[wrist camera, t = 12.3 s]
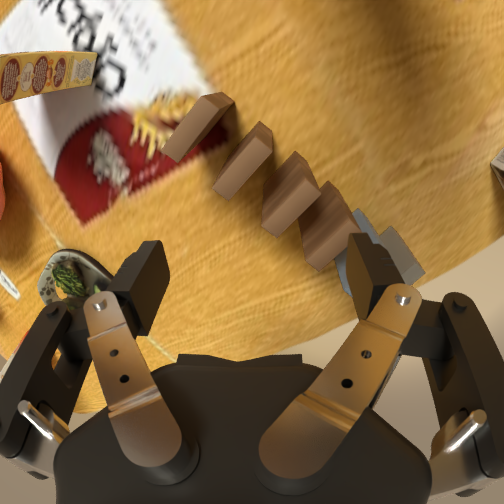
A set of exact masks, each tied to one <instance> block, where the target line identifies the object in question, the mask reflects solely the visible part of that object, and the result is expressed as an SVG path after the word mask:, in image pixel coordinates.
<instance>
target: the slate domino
mask: <svg viewBox="0 0 504 504" xmlns="http://www.w3.org/2000/svg"><path fill="white" fill-rule="evenodd" d="M352 215H353V216H354V218H355V220H356V222H357V223H358V225H359V227H360V229H361V231H362V232H367V233H368V235H369V237H370V239H371V240H372V242H373V244H380V245H382V246H383V247H384V248H385V249H386V247H385V246H384V244H383V242H382V241H381V239H380V237H379V236H378V234H377V233H376V231H375V229H374V228H373V226H372V224H371V223H370V221H369V220H368V218H367V217H366V216H365V215H364V214H363V213H362V212H361V211H360V210H359V208H357V209H356V210H355V211H354V212H353V213H352ZM347 247H348V246H347ZM347 247H346V248H345V249H344V250H343V251H342V252H340V253H339V254H338V255H337V256H336V257H335V258H334V260H335V263H336V267H337V270H338V273H339V276H340V280H341V283H342V286H343V290H344V291H345V292H346V293H348V294H349V295H350V296H351V297H352V294H351V291H350V288H349V284H348V281H347V278H346V257H347ZM391 259H392V258H391Z"/></svg>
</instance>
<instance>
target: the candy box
mask: <svg viewBox="0 0 504 504" xmlns="http://www.w3.org/2000/svg"><path fill="white" fill-rule="evenodd" d="M96 58H97V53H93V52H74V51H37V52H20V53H10V54H1V55H0V104H3V103H7V102H10V101H14V100H18V99H22V98H26V97H30V96H34V95H38V94H43V93H47V92H52V91H57V90H63V89H68V88H74V87H81V86H88V85H91V83H92V78H93V73H94V67H95V62H96Z"/></svg>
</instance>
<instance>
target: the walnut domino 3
mask: <svg viewBox="0 0 504 504" xmlns="http://www.w3.org/2000/svg"><path fill="white" fill-rule="evenodd" d="M320 195H321V191H320V189H319V187H318V185H317V182H316V180H315V178H314V176H313V173H312V171H311V169H310V167H309V165H308V163H307V161H306V160H305V159H304V158H303V157H302V156H301V155H300V154H298V153H297V152H296V151H295V152H294V153H293V154H292V155H291V156H290V157H289V158H288V159H287V160H286V161H285V162H284V163H283V164H282V165H281V167H280V168H279V169H278V170H277V171H276V172H275V173H274V174H273V175H272V176H271V177H270V178H269V179H268V181H267V182H266V183H265V184H264V188H263V206H262V224H261V226H262V227H263V228H264V229H266V230H267V231H268V232H269V233H271V234H272V235H273V236H275V237H276V238H278V237H279V236H280V235H281V234H282V233H283V232H284V231H285V230H286V229H287V228H288V227H289V226H290V225H291V224H292V223H293V222H294V221H295V220H296V219H297V218H298V217H299V216H300V215H301V214H302V213H303V212H304V211H305V210H306V209H307V208H308V207H309V206H310V205H311V204H312V203H313V202H314V201H315V200H316V199H317V198H318V197H319V196H320Z"/></svg>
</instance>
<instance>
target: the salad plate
mask: <svg viewBox="0 0 504 504" xmlns="http://www.w3.org/2000/svg"><path fill="white" fill-rule="evenodd" d="M113 278H114V276H113V275H112V274H110V273H109V272H108V271H107V270H106V269H105V268H104V267H103V266H102V265H101V264H100V263H99V262H98V261H96V260H95V259H94V258H92V257H91V256H89V255H87V254H85V253H83V252H81V251H78V250H74V249H62V250H59V251H57V252H56V253H54V254H53V255H52V256H51V258H50V260H49V261H48V263H47V265H46V267H45V268H44V270H43V272H42V273H41V275H40V278H39V281H38V285H37V286H38V291H39V294H40V296H41V298H42V300H43V302H44V303H45V305H46V306H47V305H48V304H50V303H52V302H55V301H63V302H65V303H66V305H67V307H68V309H69V310H73V309H78V308H83V307H84V303H85V302H86V300H87V299H88V298H89V297H91V296H92V295H94V294H96V293H98V292H102V291H105V290H106V289H107V287H108V286H109V284H110V282H111V281H112V279H113ZM55 281H56V286H57V287H60V288H61V289H62V290H63V292H64V293H67V298H65V299H63V300H62V299H60V298H59V297H58V295H57V293H56V290H55Z"/></svg>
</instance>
